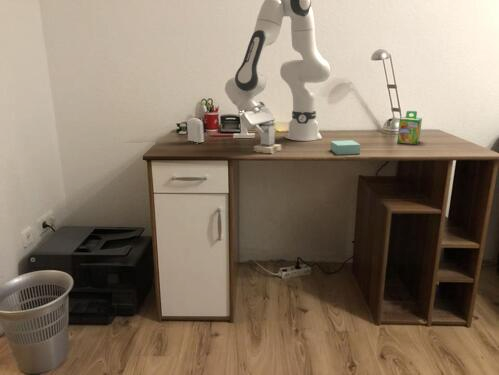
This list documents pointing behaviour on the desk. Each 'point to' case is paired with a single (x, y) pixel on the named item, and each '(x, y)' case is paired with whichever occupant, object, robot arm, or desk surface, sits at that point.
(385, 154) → the desk surface
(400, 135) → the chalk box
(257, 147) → the stand
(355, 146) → the stand
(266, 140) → the block
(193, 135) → the grey arched block
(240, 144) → the desk surface
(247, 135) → the joystick
